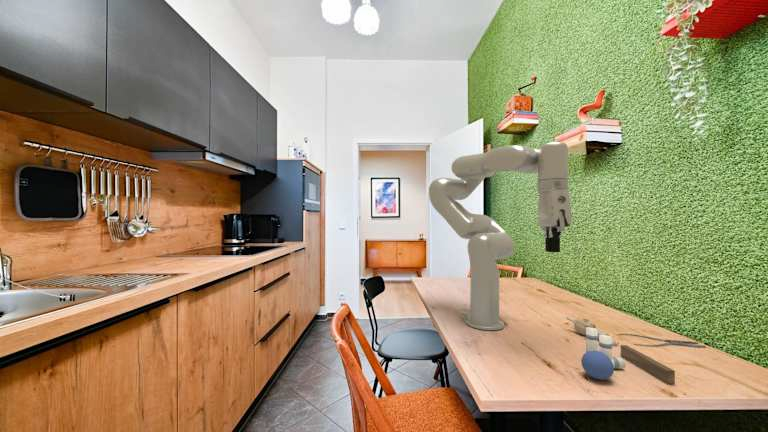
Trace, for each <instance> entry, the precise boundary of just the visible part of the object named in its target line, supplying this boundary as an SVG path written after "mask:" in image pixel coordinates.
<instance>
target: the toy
mask: <svg viewBox="0 0 768 432" xmlns="http://www.w3.org/2000/svg"><path fill="white" fill-rule="evenodd" d="M566 320H568V321H570V322H572V323H573V324H574V330H575V331H576V332H577V333H578V334H580V335H581V334H582V335H581V336H584V335H585V337H586V327H591V328H595V329H597V326H596V325H595V324H594V323H592V322H590V321H589V319H587V318H585V317H580V318H573V319H572V318H571V317H569V316H566ZM599 335H608V336H611V335H609V334H608V333H605V332H604V331H600V330H598V341H599ZM613 345H614V346H619V345H620V342H619V341H617V342H616V341H614V340H613V339H612V346H613Z"/></svg>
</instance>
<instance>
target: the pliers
mask: <svg viewBox="0 0 768 432" xmlns="http://www.w3.org/2000/svg"><path fill="white" fill-rule="evenodd" d="M618 335H619V336H633V337H638V338H644V339H650V340H653V341H659V342H664V343H659V344H642V343H633V345H634V346H641V347H649V348H651V347H652V348H654V347H655V348H659V347H669V346H678V347H679V346H681V347H686V348H687V347H688V348H695V349H696V348H699V349H700V348H701V349H703V348H705V349H706V348H707V346H706V345H700V344H699V342H696V341H687V340H677V339H675V340H674V339H661V338H656V337H650V336H647V335H646V336H645V335H640V334H632V333H618Z"/></svg>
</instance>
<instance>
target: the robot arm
mask: <svg viewBox="0 0 768 432" xmlns="http://www.w3.org/2000/svg"><path fill="white" fill-rule="evenodd" d="M508 171H509V172H517V173H523V174H530V175H534V174H537V193H538V194H539V195H538V203H537V224H538V225H539V226H540V227H541V231H543V232H544V237H545V238H544V239H545V240H544V241H545V242H544V243H545V245H544V246H545V247H544V248H545V252H547V253H560V252H561V237H562V233H563V232H565V231H566V227H567V228H568V227H570V226H572V205H571V197H570V192H569V146H568V144H567V143H565V142H563V141H550V142H546V143H542V144H541V145H540V146H538V148H531V147H528V146H525V145H524V146H523V145H518V144H517V145H515V144H512V145H506V146H499V147H495V148H494V147H493V148H491V149H489V150H488V151H487V152H482V153H475V154H470V155H462V156H459V157H457V158H456V159H454V161H453V162H452V164H451V172H452V174H453V175H454V176H455V177H457V178H450V177H449V178H448V177H439V178H436V179H433V181H431V183H430V184H429V187H428V196H429V197H428V198H429V200H430V203H431V206H432V207H433V209H435V210H436V212H437V213H438V214H439V215H440V216H441V218H443V219H444V220H445V221H446V223H448V225H449V226H450V227H451V228H452V229H453V231H454V232H455V233H456V235H458V237H460V238H461V239H465V240H468V242H467V254H468V257H469V266H470V267H469V270H470V273H469V274H470V286H469V287H470V291H469V292H470V295H469V296H470V297H469V298H470V299H469V300H470V302H469V303H470V304H469V306H470V307H469V308H464V307H460V309H459V314H460V315H462V316H466V317H465V324H466V325H467V326H469V327H471V328H474V329H477V330H483V331H499V330H502V329H504V328H505V322H504V321H502V320H501V319H500V271H499V270H500V269H499V267H498V264H497V262H496V261H497V260H504V259H508V258H509V257H511V256H512V255H513V254H514V252H515V243H514V240H513V238H512V237H511V236H510V235H509V233H507V231H505V229H503V227H502V226H500V224H498V222H497V221H495V220H494V219H493V218H492V217H490V216H489V215H486V214H481V213H480V214H477V213H471V212H470V211H468V210H467V209H466V208H465V207H464V206H463V205H462V204H461V203H459V202H458V201H462V200H465V199H467V198H469V196H470V195H472V194H473V192H474V191H475V190H476V189H477V187H479V185H480V184H481V183H482V182H483V181H484V180H485V178H491V177H494V175H495V174H496V173H498V172H508Z"/></svg>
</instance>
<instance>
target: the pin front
mask: <svg viewBox="0 0 768 432" xmlns="http://www.w3.org/2000/svg"><path fill="white" fill-rule="evenodd" d="M612 363H613V366H614V370H617V369H625V368H626V362H625V360H624V358H623V357H614V356H612Z"/></svg>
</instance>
